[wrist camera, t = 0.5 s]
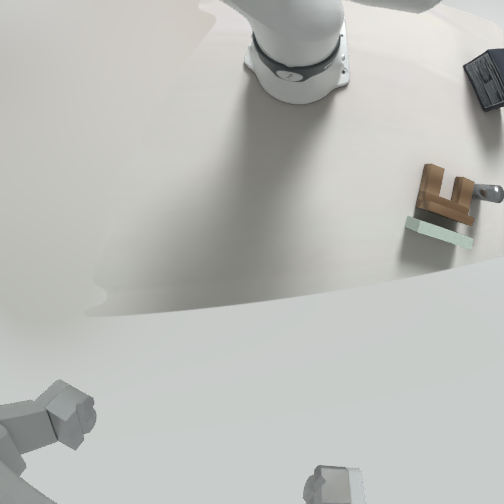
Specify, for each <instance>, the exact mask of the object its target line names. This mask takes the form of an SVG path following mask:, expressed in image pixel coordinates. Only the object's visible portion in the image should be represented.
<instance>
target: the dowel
mask: <svg viewBox="0 0 504 504" xmlns="http://www.w3.org/2000/svg"><path fill="white" fill-rule="evenodd" d="M472 197H473V198H474V199H478V200H484V201H490V202H496V203H501V202H502V201H503V199H504V191H503V189H502V187H501V186H497V185H485V184H474V188H473V193H472Z"/></svg>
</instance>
